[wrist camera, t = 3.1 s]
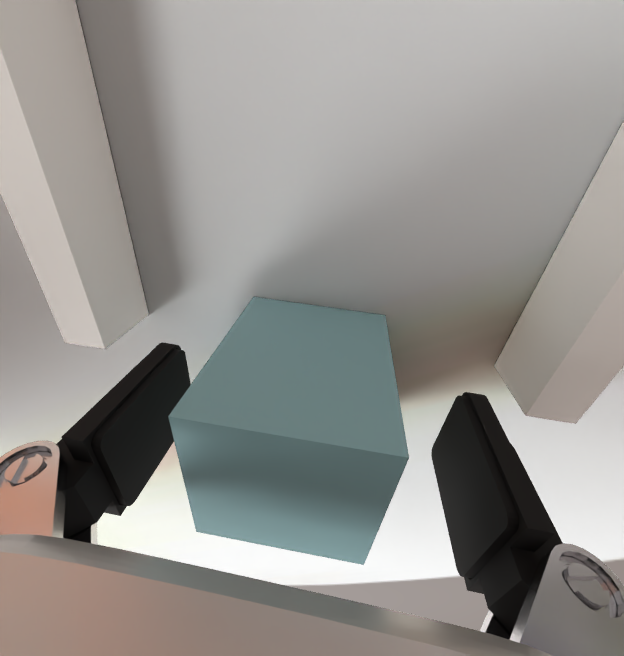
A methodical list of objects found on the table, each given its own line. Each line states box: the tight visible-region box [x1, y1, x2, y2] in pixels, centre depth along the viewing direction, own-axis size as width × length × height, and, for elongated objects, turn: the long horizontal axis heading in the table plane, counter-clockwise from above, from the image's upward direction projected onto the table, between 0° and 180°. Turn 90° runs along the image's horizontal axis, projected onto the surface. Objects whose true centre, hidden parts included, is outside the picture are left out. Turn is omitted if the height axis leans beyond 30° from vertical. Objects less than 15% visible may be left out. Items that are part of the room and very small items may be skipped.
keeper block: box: [168, 297, 409, 565], centre depth 10 cm, size 5×5×6 cm
